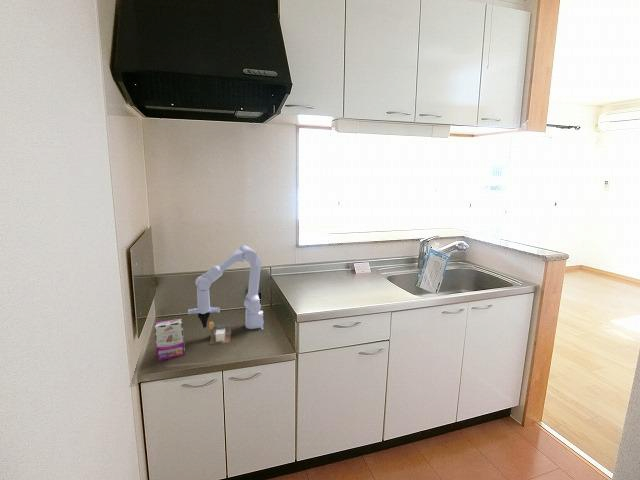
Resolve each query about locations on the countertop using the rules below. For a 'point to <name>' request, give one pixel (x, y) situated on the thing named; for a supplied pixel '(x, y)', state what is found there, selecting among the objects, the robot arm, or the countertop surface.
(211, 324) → the gray and orange bar
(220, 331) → the white block
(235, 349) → the countertop surface
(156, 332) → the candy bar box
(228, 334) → the brown stand with pegs
